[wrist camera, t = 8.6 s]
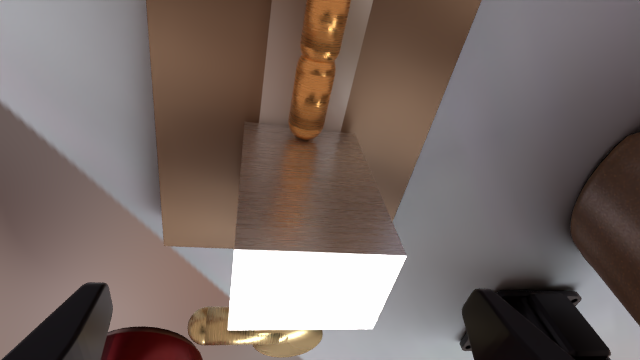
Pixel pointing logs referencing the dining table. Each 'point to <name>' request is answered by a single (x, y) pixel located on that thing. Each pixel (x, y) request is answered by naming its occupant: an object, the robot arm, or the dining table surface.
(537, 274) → the dining table surface
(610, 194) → the plant pot
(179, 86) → the board
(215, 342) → the keeper hook
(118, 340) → the soda can
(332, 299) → the grey metal piece
